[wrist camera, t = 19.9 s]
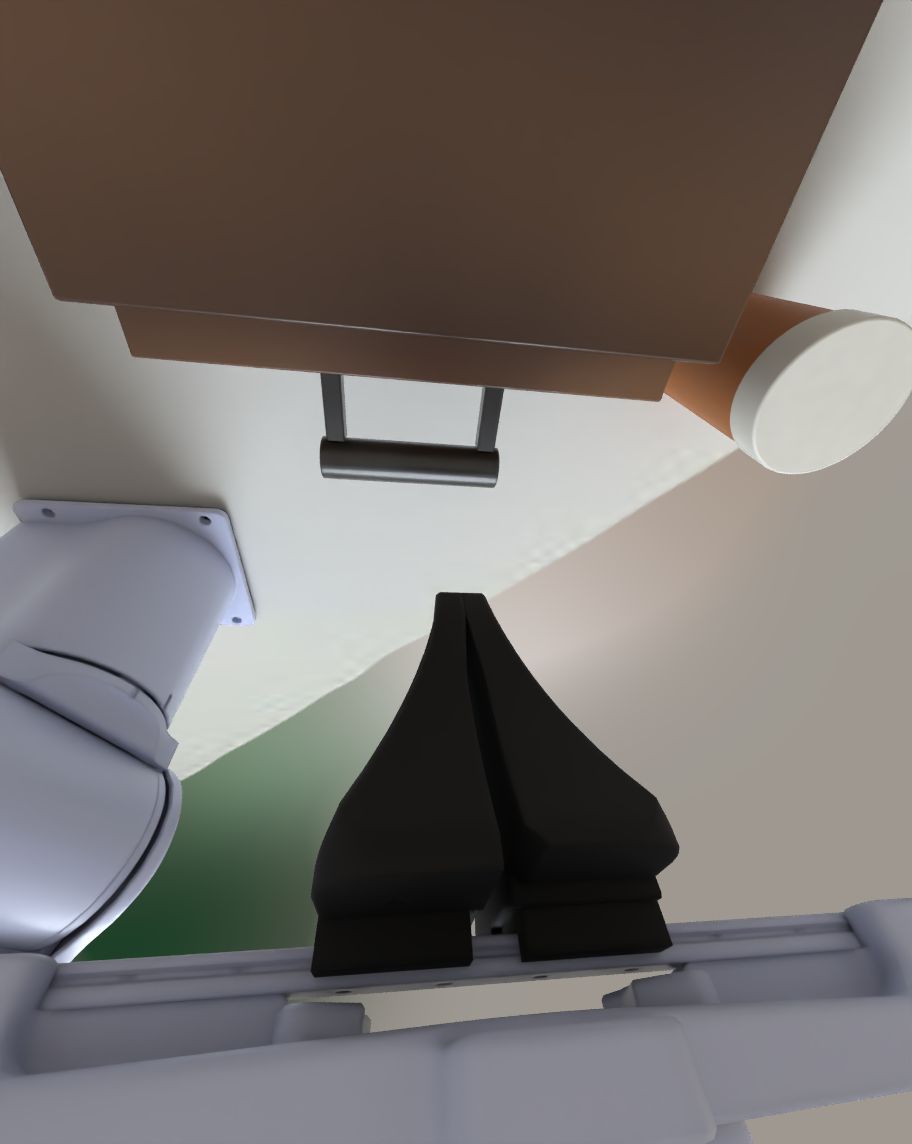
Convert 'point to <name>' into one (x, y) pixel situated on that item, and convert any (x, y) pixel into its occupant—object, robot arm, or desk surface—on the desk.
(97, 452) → the desk surface
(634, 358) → the drawer
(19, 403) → the desk surface
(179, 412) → the desk surface
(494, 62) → the cabinet
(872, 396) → the pill bottle
